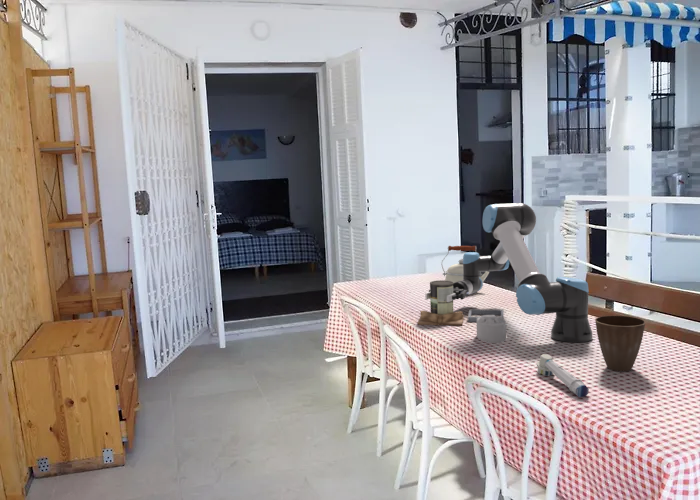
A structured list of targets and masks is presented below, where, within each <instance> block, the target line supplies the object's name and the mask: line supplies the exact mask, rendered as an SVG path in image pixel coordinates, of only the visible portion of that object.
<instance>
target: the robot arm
mask: <svg viewBox="0 0 700 500" xmlns="http://www.w3.org/2000/svg"><path fill="white" fill-rule="evenodd" d="M536 224H537V216H536V213H535V211H534V210H533V208H532V207H531V206H529V205H528V204H526V203H523V202H513V203H510V202H509V203H494V204H489V205H487V206H485V208H484V210H483V213H482V227H483V230H484V232H486V233H488V234H489V233H492V236H493V238H494V239H496V240H497V241H499V243H498V244H497V246H496V248H495V249H494V251H493V252H492V254H491V255H480V253H479V252H477V251H475V252H474V251H473V252H471V251H469V252H465V253H463V256H462V259H463V280H461V281H458V282H455V283H453V294H451V295H448V296H447V302H450V301H453V302H454V301H455V300H459V299H460V300H464V299H465V298H466V297H467V296H469V295H472V294H476V293H477V292H480V290H482V288H483V286H484V281H483V282H482V280H481V278H480V275H479V274H480V272H481V273H485V272H501V271H505V270H507V269H509V267H510V266H511V268H512V269H513V272H514V274H515V276H516V278H517V280H518V282H519V283H518V284H517V288H516V292H515V297H516V298H517V299H516V302H517V305H518V307H519V308H520V310H521V311H522V312H523V313H524V314H526V315H529V316H530V315H534V316H541V315H545V314H547V315H548V314H555V318H554V321H553V324H552V327H551V329H550V337H551V339H554V340H557V341H560V342H564V343H565V342H567V343H584V342H589V341H592V340H593V330H592V327H591V323H590V321H589V294H590V291H589V284H588V282H587V281H586V280H584V279H580V278H576V277H566V276H557V278H556V279H555V281H551V282H550V281H549V279H548V276H547V275H546V274H544V273H541V272H540V270H539V268H538V266H537V265H536V262H535V260H534V258H533V256H532V255H531V252H530V250H529V248H528V247H527V244H526V243H525V240H524V239H525V237H527V236H529V235H530V234H531V233H532V231H534V228H535V227H536ZM424 295H425V300H426V301H427V300H429V299H430V289H429V290H428V291H427V292H425V294H424Z"/></svg>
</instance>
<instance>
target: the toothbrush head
mask: <svg viewBox="0 0 700 500" xmlns="http://www.w3.org/2000/svg"><path fill="white" fill-rule="evenodd" d="M536 368H537V373H538V374H539V375H543V376H547V377H549V376H552V375H554V376H555V377H556V378H557V379H558V380H560V381H561V383H563V384H564V385H565V386H566V387H567V388H568V390H569V391H570V392H571V393H572V394H574V395H576V396H577V397H578V398H581V397H583V398H584V397H587V395H588V394H589V387H587V385H586V384H585V383H584V381H582V380H581V379H580V378H577V377H575V376H574V375H573V374H572V373H570V372H569V371H567V370H566V369H565V368H564V367H562V366H561V365H559V364H558V363H557V362H555V361H554V360H553V356H552V355H550V354H547V353H544V354H541V355H540V357H539V360H538V361H537V362H536Z"/></svg>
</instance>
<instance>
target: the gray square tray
mask: <svg viewBox="0 0 700 500" xmlns="http://www.w3.org/2000/svg"><path fill="white" fill-rule="evenodd" d="M467 315H468V316H467V322H468V323H469V322H470V323H477V318H479V317H480V316H472V315H495V316H497V315H498V316H502V317H503V318H504V310H503V309H470V308H469V310H468V314H467ZM504 319H505V318H504Z"/></svg>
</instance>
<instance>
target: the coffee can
mask: <svg viewBox="0 0 700 500" xmlns="http://www.w3.org/2000/svg"><path fill="white" fill-rule="evenodd" d="M429 290H430V300H429V301H430V302H429V303H430V307H429V308H430V312H431V313H434V314H438V315H439V314H441V315H443V314H448V313H453V312H454V300H453V301H450V302H447V296H448V295H451V294H453V282H452V281H445V279H444V280H443V279H442V280H433V281H430V282H429Z"/></svg>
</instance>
